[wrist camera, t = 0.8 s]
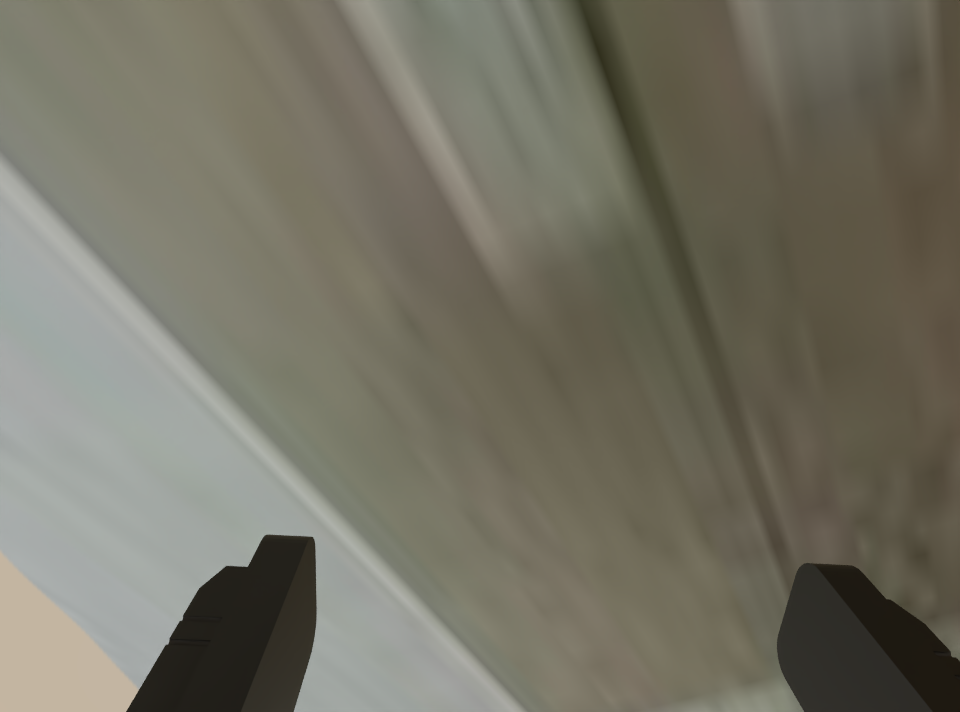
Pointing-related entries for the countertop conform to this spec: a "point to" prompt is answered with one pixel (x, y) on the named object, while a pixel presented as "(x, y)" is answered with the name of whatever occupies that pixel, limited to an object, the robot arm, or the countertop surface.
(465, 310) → the countertop surface
